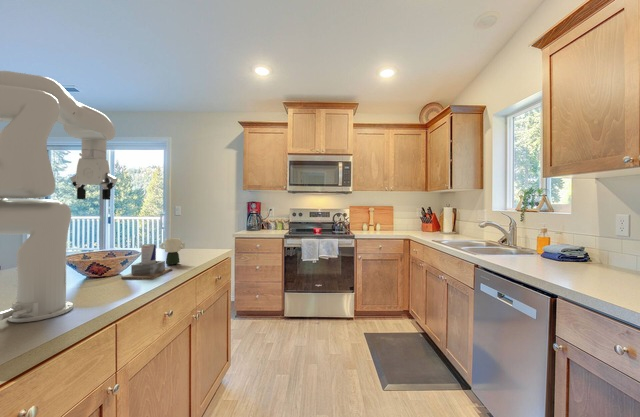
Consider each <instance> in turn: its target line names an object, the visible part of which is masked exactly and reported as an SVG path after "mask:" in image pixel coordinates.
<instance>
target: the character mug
mask: <svg viewBox="0 0 640 417" xmlns="http://www.w3.org/2000/svg"><path fill="white" fill-rule="evenodd" d="M181 241H182V240H181V238H178V237H177V238H174V237H173V238H172V237H171V238H165V239H164V242H161V243H160V249H161V250H165V253H167V254H166V258H165V259H166V260H165V265H177V264H179V263H180V255H179V252H181V249H182V250H184V249H185V244H186V243H185V242H184V241H183V242H181Z"/></svg>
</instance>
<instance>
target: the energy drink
mask: <svg viewBox="0 0 640 417" xmlns="http://www.w3.org/2000/svg"><path fill="white" fill-rule="evenodd" d="M140 248H141V255H140V258H141V260H140V262H141V265H152V264H155V263H156V261H157V260H156V259H157V245H156V243H145V244H141V247H140Z"/></svg>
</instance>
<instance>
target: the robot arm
mask: <svg viewBox="0 0 640 417" xmlns="http://www.w3.org/2000/svg"><path fill="white" fill-rule="evenodd" d="M0 122H5V123H6V122H7V123H8V124H7V125H6V126H4V128H2V130H0V235H1V236H3V235H29V236H28V237H27V239H26V240H25V241H24V242H23V243H22V244H21V245H20V246H19V247H18V250H17V253H16V302H13V303H12V306H11V307H10V308H9V309H6V310H3V311H0V321H2V320H5V319H7V321H8V322H11V323H30V322H36V321H37V322H38V321H42V320H47V319H51V318H55V317H57V316H60V315H61V316H62V315H64V314H66V313H68V312H70V311H71V310H73V309H74V303H73V302H71V301H67V245H68V242H67V240H68V233H69V229H70V224H71V219H72V210H71V208H70V206H69V205H68V204H67V203H65V202H63V201H60V200H55V199H47V197H49V196H51V195H53V194H54V192H55V191H56V179H55V176H54V172H53V167H52V164H51V160H50V157H49V156H50V155H49V153H48V152H49V151H48V147H47V145H48V144H47V142H48V139H49V136H50V133H51V130H52V129H53V127H54V125H55V124H56V122H58V123H60V124H62V125H63V129H64V132H66V134H67V135H69V136H70V137H72V138H75V139H78V140H79V139H80V140H81V152H80V153H79V156H80V157H79V159H78V161H77V165H76V171H75V175H73V176H71V177H70V182H72V183H71V184H72V185H73V186H74V188H75V189H76V199H77V200H86V198H87V197H86V196H87V194H86V192H87V191H86V186H88V185H90V186H91V185H92V186H93V185H94V186H96V185H98V186H99V185H100V186H102V192H101V193H102V200H109V201H111V195H112V194H111V190H113V188H114V187H115V186H116V184H117V182H118V178H117V177H115V176H113V175H111V173H110V165H109V164H110V163H109V161H108V159H107V141H108V142H109V141H111V140H113V139H114V138H115V135H116V130H115V129H116V128H115V126H114V123H113V122H112V120H110V118H109V117H108V116H107V115H106V114H104V113H103V112H102V111H99V110H98V109H95V108H92V107H90V106H88V105H85V104H83V103H81V102H78V101H77V100H76V99H75V98H74V97H73V96H72V95H71V94H70V93H69V92H68V91H67V90H66V89H65V88H64V87H63V86H62V85H61V83H58V82H57V81H56V80H54V79H52V78H50V77H47V76H43V75H37V74H30V73H23V72H18V71H17V72H15V71H10V70H0ZM43 198H45V199H43Z"/></svg>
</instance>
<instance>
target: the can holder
mask: <svg viewBox="0 0 640 417" xmlns="http://www.w3.org/2000/svg"><path fill="white" fill-rule="evenodd" d="M130 268H131V269H130V270H131V272H130V273H128V274H126V275H123V276H121V280H153V279H156V278H157V277H160V276H163V275H165V274H166V273H167V274H168V273H169V272H171V271H173V267H166V260H156V263H155V264H152V265H141V261H140V262H137V263H134V264H131V266H130Z"/></svg>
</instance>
